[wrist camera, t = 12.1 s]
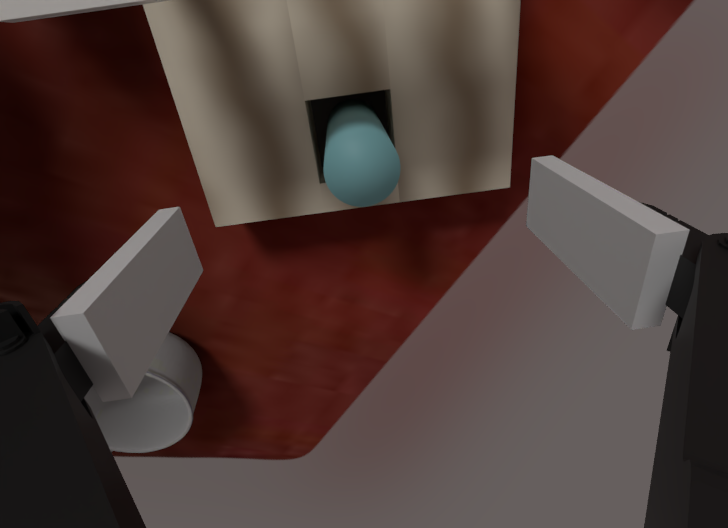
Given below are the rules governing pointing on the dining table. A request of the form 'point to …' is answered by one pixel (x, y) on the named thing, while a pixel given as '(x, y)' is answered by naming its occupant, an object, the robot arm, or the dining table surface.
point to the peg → (359, 155)
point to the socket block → (338, 94)
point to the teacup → (153, 402)
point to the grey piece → (58, 8)
